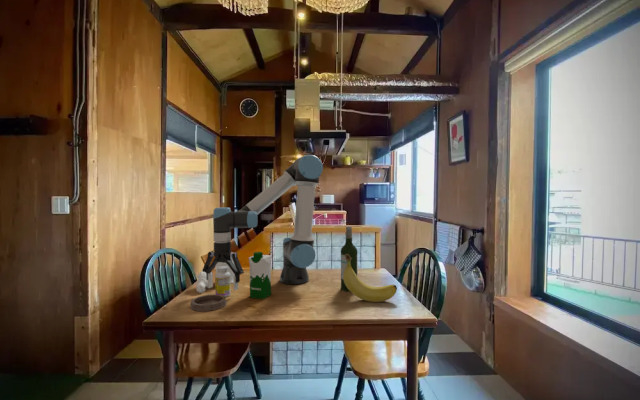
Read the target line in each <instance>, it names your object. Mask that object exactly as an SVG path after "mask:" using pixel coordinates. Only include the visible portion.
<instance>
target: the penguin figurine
mask: <svg viewBox="0 0 640 400" xmlns="http://www.w3.org/2000/svg"><path fill="white" fill-rule="evenodd" d="M196 277H197V280H196V284H195V285H196V292H197V293H199V294H202V293H205V291H206V290H207V289H209V288H208V280H207V279H206V272H203V271H200V272H199V273H198V274H197V276H196Z"/></svg>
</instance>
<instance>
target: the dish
mask: <svg viewBox="0 0 640 400" xmlns="http://www.w3.org/2000/svg"><path fill="white" fill-rule="evenodd" d="M226 305H227V297H225V296H223V295H216V294H205V295H200V296H197V297H195V298H194V297H193V298H192V299H191V301H190V309H191V310H192V311H194V312H212V311H217V310H220V309H222V308H225V307H226Z"/></svg>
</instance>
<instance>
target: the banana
mask: <svg viewBox="0 0 640 400" xmlns="http://www.w3.org/2000/svg"><path fill="white" fill-rule="evenodd" d="M345 257H346V260H347V267H346V269H345V270H344V274H343V280H344V283H345V285H346V287H347V288H348V289H349V290H350V291H351V292H350V293H352V295H354V296H355V297H357V298H359V299H360V300H363V301H365V302H371V303H380V302H386V301H389V300H390V299H392V298H393V297H394V296H395V294H396V293H397V289H398V287H397V285H396V284H389V285H383V286H371V285H368V284H366V283H364V282H363V281H362V279H360V278H359V277H358V274H357V275H356V274H355V272H354V271H353V269H352V267H351V264H350V261H351V259H352V258H351V257H350V256H349V254H345Z"/></svg>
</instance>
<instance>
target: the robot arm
mask: <svg viewBox="0 0 640 400" xmlns="http://www.w3.org/2000/svg"><path fill="white" fill-rule="evenodd" d="M323 170H324V165H323V163H322V161H321V159H320V158H319V157H318V156H316V155H313V154H305V155H303V156H301V157H299V158H296V160H294V161H293V162H292V164H291V165H290V166H289V167H288V168H286V169H285V170H284V171H283V174H282V175H281V176H280V177H278V178H277V179H276V180H275V181H274V182H272V183H271V184H269V186H267V187H266V188H265V189H264V190H263V191H262V192H260V193H258V195H256V196H255V197H254V198H253V199H252V200H250V201H249V202H248V203H246V204H245V206H243V207H242V208H241V209H238V210H237V211H232V210H231V207H215V208H214V209H213V219H212V221H213V222H212V223H213V227H212V228H213V250H212V251H208V252H207V258H206V260H205V262H204V265H203V267H202V271H203V272H206V279H207V280H208V288H207V289H211V288H213V287H214V279H213V278H214V274H213V272H212V271H213V270H214V269H215V266H216V264H217V263H218V262H223V263H226V264H228V266H229V267H230V269H231V270H232V271H233V273H234V274H235V275H234V276H233V283H232V284H233V291H234V292H235V291H237V290H239V283H240V282H241V278H240V275H242V274H244V269H243V266H242V265H241V262H240V260H239V258H238V252H233V253H231V252H232V251H231V250H232V242H231V241H232V229H243V228H244V229H245V228H246V229H251V228H257V226H258V221H259V220H258V215H259V214H260V213H262V212H263V211H264V210H265V209H266V208H268V207H269V206H270V205H271V204H273V203H274V202H275V201H277V199H279V198H280V197H281V196H282V195H284V194H285V193H286V192H287V191H288V190H289V189H291V188H292V187H297V193H296V203H295V205H296V206H295V215H294V216H295V217H294V225H293V226H294V227H293V235H291V236H290V237H284V238H283V239H282V251H283V252H282V257H283V258H282V259H283V261H282V263H283V265H282V270H281V273H280V277H279V281H280V283H282V284H285V285H301V284H305V283H308V282H309V280H310V279H309V278H310V276H309V273H308V271H307V268H308V267H310V266H312V264H313V263H314V262H315V259H316V251H315V248H314V244H315V239H314V238H313V237H312V231H313V230H312V228H313V219H314V218H313V217H314V206H315V196H316V187H317V186H318V185H319V184H320V176H321V175H322V173H323ZM230 257H231V258H232V259H233V262H234V263H233V262H232V259H231V258H230ZM213 258H214V259H213ZM228 260H229V261H228ZM234 264H235V265H234ZM202 271H201V272H202Z"/></svg>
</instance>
